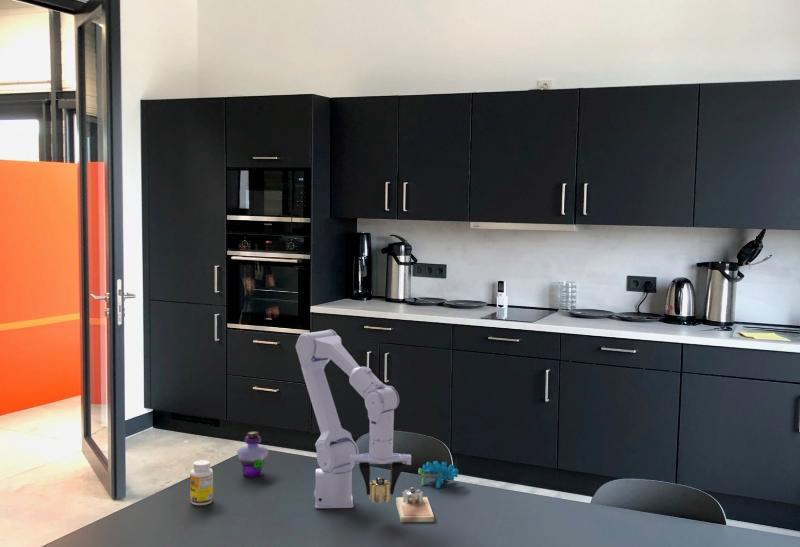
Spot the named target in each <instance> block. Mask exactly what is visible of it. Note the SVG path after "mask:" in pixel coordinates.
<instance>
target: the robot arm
mask: <svg viewBox="0 0 800 547" xmlns="http://www.w3.org/2000/svg"><path fill="white" fill-rule="evenodd" d="M295 350H296V353H297V356H298V361H299V363H300V368H301V372H302V375H303V379H304V382H305V385H306V388H307V392H308V396H309V398H310V399H309V400H310V402H311V404H312V409H313V412H314V415H315V418H316V423H317V425H318V429H319V432H320V436H319V437H318V439H317V440H316V442H315V444H314V446H315V450H316V461H317V464H318V466H319V468H316V469H315V488H314V489H315V490H314V491H313V498H314V499H315V500H314V501H315V502H314V504H315V505H314V507H315V509H350V508H351V509H352V508H354V500H353V499H354V497H353V495H352V488H353V487H352V485H353V483H352V482H353V481H352V480H353V479H352V477H353V468H354V467H355V465H358V466H359V471H360V473H361V476H362V478H363V480H364V485H365V488H366V495H367V496H369V495H370V483H371V481H370V480H371V479H370V478H371V466H370V465H378V464H379V465H385V464H386V465H390V480H389V481H390V483H391V489H390V495H394V492H395V487H396V485H397V481H398V480H399V477H400V475H401V473H402V471H403V468H404V467H403V464H405V465H408V466H410V465H412V455H411V454H409V453H407V454H406V453H398V452H394V424H395V410H396V409H397V408H398V406H399V404H400V395H399V393H398V391H397V390H396V389H395V387H394V386H393V385H387V384H386V383H385V384H384V383H383V382H382V381H381V380H380V379H379V378H378V377H377V376H376V375H375V374H374V372H372V369H371V368H370V367H367V366H360V365H359V364H358V362H356V360H355V359H354V357H353V356H352V355H351V354H350V353H349V352H348V350H347V349H346V348H345V347H344V345H343V344H342V338H341V336H339V335H338V334H337V332H336V331H335V330H333V329H326V330H319V331H312V332H302V333H301V334H300V335H299V336H298V339H297V341H296V343H295ZM330 361H332V362H333V363H334V364H335V365H337V367H339V368H340V369H341V370H342V371H343V372H344V374H346V375H347V376H348V377H349V378H348V380H349V381H348V382H349V384H350V386H352V387H353V389H354V390H355V391H356V392H357V393H358V394H359V395H360V396H361V397H362V398H363V399H364V406H365V408H366V410H367V418H368V420H369V431H368V432H369V440H368V443H369V445H368V452H366V453H365V452H364V453H360V452H359V446H358V445H357V443H356V442H355V441H354V439H353V437H352V436H353V435H352V433H351V432H350V431H349V430H348V431H347V430H346V429H344V428H343V427H342V425H341V421H340V418H339V415H338V412H337V408H336V405H335V402H334V399H333V395H332V391H331V389H330V385H329V383H328V379H327V376H326V372H325V367H326V366H327V364H328V363H329V362H330ZM333 442H334V443H333Z"/></svg>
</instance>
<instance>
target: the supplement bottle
mask: <svg viewBox="0 0 800 547" xmlns="http://www.w3.org/2000/svg"><path fill="white" fill-rule="evenodd" d="M210 464H211V462H210V461H209V460H206V459H200V460H196V461H194V462H193V468H192V469H191V470H190V472H189V473H190V475H189V476H190V480H189V488H190V490H189V493H190V494H189V496H190V498H189V500H190V503H191V504H192V505H194V506H195V505H196V506H207V505H208V504H209V505H210V504H211V503H213V498H214V470H213V469H212V468H211V466H210Z"/></svg>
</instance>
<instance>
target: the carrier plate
mask: <svg viewBox="0 0 800 547" xmlns="http://www.w3.org/2000/svg"><path fill="white" fill-rule="evenodd" d="M395 503H396V508H397V512H398V517H399V520H400V522H401V523H433V522H435V516H434V513H433V511H432V507H431V504H430V501H429V499H428V496H423V501H421V503H420V504H419V503H415V505H412V504H411V503H408V504H406V503H405V501H403V496H402V497H400V496H399V497H395Z"/></svg>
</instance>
